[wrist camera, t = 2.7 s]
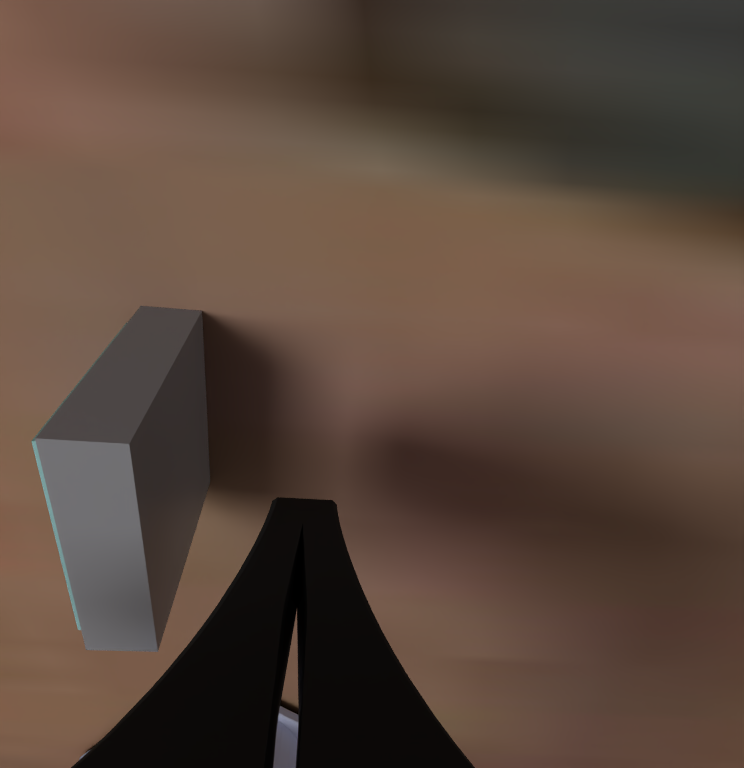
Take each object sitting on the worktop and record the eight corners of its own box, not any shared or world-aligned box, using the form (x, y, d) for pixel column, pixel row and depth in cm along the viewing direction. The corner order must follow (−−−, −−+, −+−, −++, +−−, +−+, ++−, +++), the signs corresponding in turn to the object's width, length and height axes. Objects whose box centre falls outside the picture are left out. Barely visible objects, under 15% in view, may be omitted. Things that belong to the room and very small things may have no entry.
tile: (202, 310, 15) (128, 444, 10) (210, 481, 18) (158, 651, 13) (131, 304, 15) (20, 437, 10) (151, 478, 18) (74, 649, 13)
